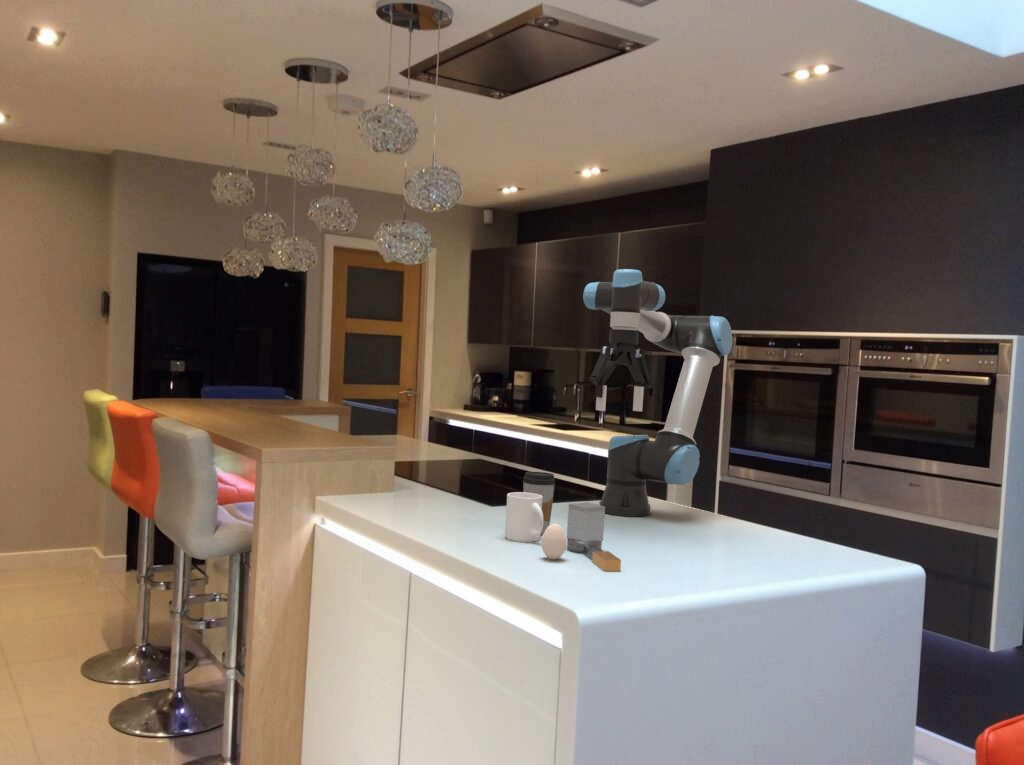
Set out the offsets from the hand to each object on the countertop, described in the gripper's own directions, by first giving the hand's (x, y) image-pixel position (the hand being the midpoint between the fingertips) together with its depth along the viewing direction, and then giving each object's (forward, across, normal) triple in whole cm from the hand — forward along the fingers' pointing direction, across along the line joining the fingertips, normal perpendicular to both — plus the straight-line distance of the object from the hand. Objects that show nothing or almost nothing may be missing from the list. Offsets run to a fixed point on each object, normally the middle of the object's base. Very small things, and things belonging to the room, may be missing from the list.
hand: (619, 410), depth 222 cm
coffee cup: (+32, +20, -7) cm, 38 cm away
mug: (+32, +28, -1) cm, 42 cm away
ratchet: (+32, +25, +20) cm, 45 cm away
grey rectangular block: (+29, +22, +13) cm, 39 cm away
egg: (+32, +35, +17) cm, 50 cm away
